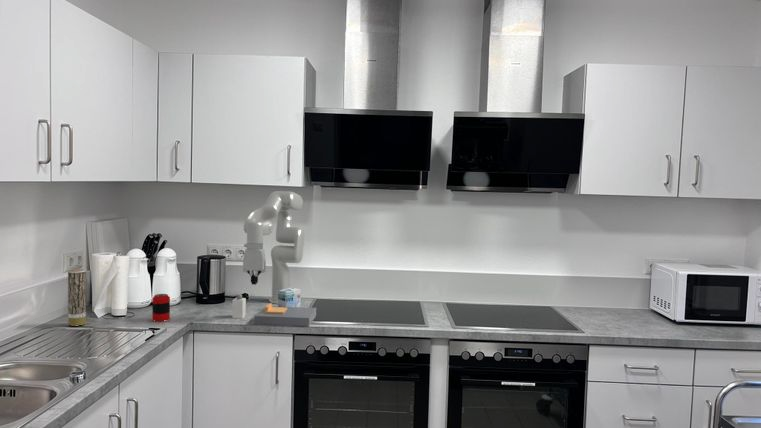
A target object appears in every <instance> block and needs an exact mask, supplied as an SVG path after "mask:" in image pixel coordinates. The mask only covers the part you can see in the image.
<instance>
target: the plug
mask: <svg viewBox="0 0 761 428" xmlns="http://www.w3.org/2000/svg"><path fill="white" fill-rule="evenodd" d="M246 302H247V298H246V297H243V294H237V295H236V297H235V298H233V299H232V313H231V314H232V315H231V317H232V319H245V317H246V311H247V310H246V309H247V308H246V307H247V305H246V304H247V303H246Z"/></svg>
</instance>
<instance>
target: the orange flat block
mask: <svg viewBox="0 0 761 428" xmlns="http://www.w3.org/2000/svg"><path fill="white" fill-rule="evenodd" d="M265 306H266V307H265ZM265 306H264V307H265V313H276V314H284V312H285V311H286V310H287V308H282V307H272V306H273V303H270V302H269V303H268V304H267V305H265Z"/></svg>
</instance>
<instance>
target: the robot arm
mask: <svg viewBox="0 0 761 428" xmlns="http://www.w3.org/2000/svg"><path fill="white" fill-rule="evenodd" d="M303 204H304V202H303V198H302V196H301V195H300V194H298V193H296V192H294V191H290V190H289V191H288V190H287V191H285V190H276V191H275V190H274V191H272V192H271V193H270V195H269V196H268V197H267V198H266V201H265V202H264V205H263V206H260V207H258V208H257V209H255V210H253V211H251V212H250V213H249V214H248V215H247V217H246V219H245V220H244V223H243V230H244V233H246V243H244V244H243V247H245V248H246V249H244V253H243V261H242V269H243V272H244V273H247V274H248V275H249V276H250V283H251V285H254V286H256V285H257V284H258V282H259V276H260V275H261V274H262V273H266V272H267V270H266V254H265V249H263V248H264V247H263V245H264V236H268V235H270V234H272V233H273V231H274V225H273V222H272V221H270V220H271V219H274V218H276V217H277V218H276V219H277V220H276V228H275V241H276V242H277V243H280V245H279V244H278V245H275V246H273V247H272V248H271V249H270V256H271V257H270V259H271V266H272V268H271V270H272V271H271V272H272V274H271V275H272V277H271V281H272V282H271V298H269V299H268V302H269V303H272V304H276V305H278V290H283V289H289V288H290V274H291V273H290V271H291V270H290V268H289V266H288V265H287V264H299V263H301V262H302V260H303V256H304V255H303V254H304V245H305V232H304V228H302V227H299V226H293V217H292V214H291V213H290V211H299V210H301V209H302V208H303ZM281 244H282V245H281ZM283 244H290V245H283ZM291 244H293V245H291ZM254 271H255V273H254Z"/></svg>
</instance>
